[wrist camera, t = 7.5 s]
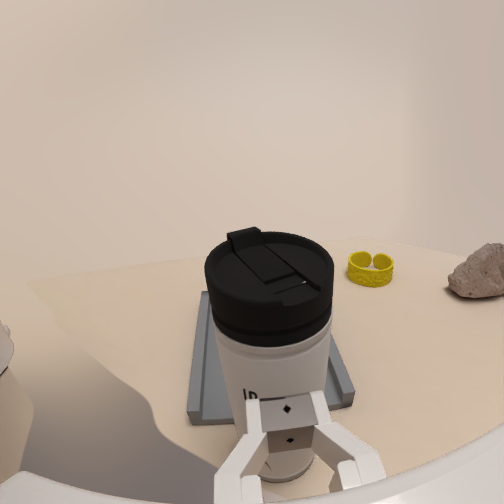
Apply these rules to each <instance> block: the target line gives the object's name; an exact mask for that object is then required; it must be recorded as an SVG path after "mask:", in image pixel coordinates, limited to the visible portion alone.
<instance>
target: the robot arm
mask: <svg viewBox="0 0 504 504" xmlns="http://www.w3.org/2000/svg"><path fill="white" fill-rule="evenodd" d="M13 351H14V345H13V342H12V340H11V339H10V329H9V328H8V326H5V325H4V326H3V325H2V323H1V321H0V374H1V373H2V372H3V371H4V369H5V368H6V367H7V365H8V364H9V362H10V360H11V358H12V355H13ZM259 403H260V405H259ZM260 412H261V413H260ZM246 418H247V432H248V434H244V435H243V436H242V438H241V439H240V441H239V442H238V444H237V445H236V446H235V448H234V449H233V451H232V452H231V454H230V455H229V456H228V458H227V459H226V461H225V462H224V463H223V465H222V466H221V467H220V469H219V470H218V471H217V473H216V474H215V476H214V504H504V422H503V423H502V424H500V425H499V426H497V427H495V428H494V429H492V430H491V431H489V432H487V433H485V434H484V435H482V436H480V437H478V438H477V439H475V440H473V441H471V442H469V443H467V444H466V445H464V446H462V447H460V448H458V449H456V450H454V451H452V452H450V453H447V454H445V455H443V456H441V457H439V458H437V459H434V460H432V461H430V462H427V463H425V464H423V465H420V466H418V467H415V468H413V469H410V470H407V471H405V472H402V473H399V474H396V475H393V476H390V477H387V476H386V473H385V471H384V468H383V465H382V462H381V459H380V457H379V454H378V451H376V450H375V449H373V448H372V447H370V446H369V445H368V444H366V443H365V442H363V441H362V440H361V439H359V438H358V437H356V436H355V435H354V434H352V433H351V432H350V431H348V430H347V429H346V428H344V427H343V426H341V425H340V424H339V423H337V422H332V419H331V415H330V412H329V409H328V406H327V402H326V399H325V396H324V393H323V391H322V390H319V391H313V392H305V393H299V394H293V395H286V396H282V397H272V398H261V399H249V400H246ZM305 448H311V449H312V450H313V451H314V452H315V453H316V454H317V455H318V456H319V457H320V458H321V459H322V460H323V461H324V462H325V463H326V464H327V465H328V466H330V467H331V468H332V469H333V470H334V471H335V473H334V475H333V478H332V480H331V482H330V485H329V490H330V493H328V494H323V495H318V496H313V497H307V498H301V499H295V500H287V501H279V502H270V503H264V497H263V491H262V485H261V479H260V477H259V476H257V475H258V473H259V472H260V470H261V468H262V466H263V465H264V463H265V461H266V459H267V457H268V455H269V453H277V452H283V451H290V450H298V449H305ZM0 504H169V503H158V502H149V501H141V500H134V499H128V498H122V497H117V496H111V495H106V494H101V493H97V492H93V491H88V490H85V489H81V488H76V487H73V486H70V485H66V484H63V483H59V482H56V481H53V480H50V479H47V478H44V477H41V476H39V475H36V474H33V473H31V472H27V471H21V472H19V473H17V474H15V475H13V476H12V477H10V478H9V479H7V480H6V481H4V482H3V483H1V484H0Z"/></svg>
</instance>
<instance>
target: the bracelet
mask: <svg viewBox="0 0 504 504" xmlns="http://www.w3.org/2000/svg"><path fill="white" fill-rule="evenodd" d="M348 260H349V262H348V278H349V279H350V280H351V281H353V282H354V283H356V284H359V285H362V286H367V287H373V288H375V287H381V286H384V285H386V284H388V283H389V282H390V280H391V279H392V273H393V264H394V262H393V260H392V258H391V257H389V256H388V255H386V254H383V253H379V254H376V255H375V256H374V258H373V264H374V266H375V267H376V268H378V269H381V270H369V269H364V268H361V267H367V266H369V265H370V264H371V261H372V257H371V255H370V254H369V253H368V252H365V251H360V252H355V253H353V254H351V255H350V256H349V258H348Z"/></svg>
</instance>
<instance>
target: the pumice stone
mask: <svg viewBox="0 0 504 504" xmlns="http://www.w3.org/2000/svg"><path fill="white" fill-rule="evenodd" d="M448 282H449V287H450V288H451V290H452V291H454V292H456V293H457V294H458V295H460V296H463V297H471V298H478V297H486V296H487V297H489V296H497V295H499V296H500V295H503V294H504V245H503V244H501V243H492V244H489V243H487V244H486V245H484V246H482V247H481V248H480V249H478V250H477V251H475V252H474V253H473V254H471V255H470V256H469V257H468V258H467V260H466V262H463V263H461V264H460V265H458V266H457V267H456V268H455V269H454V273H452V274H450V275H448Z"/></svg>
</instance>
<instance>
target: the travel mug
mask: <svg viewBox="0 0 504 504" xmlns="http://www.w3.org/2000/svg"><path fill="white" fill-rule="evenodd" d="M204 268H205V277H206V283H207V289H208V294H209V300H210V303H211V309H212V322H213V326H214V329H215V337H216V341H217V346H218V351H219V356H220V361H221V365H222V370H223V374H224V379H225V383H226V388H227V392H228V397H229V401H230V405H231V409H232V414H233V418H234V422H235V426H236V430H237V434H238V438H239V441H240V439H241V438H242V436H243V435H244V434H248V432H247V418H246V400H249V399H261V398H272V397H282V396H286V395H293V394H299V393H305V392H313V391H319V390H322V391H323V393H324V390H325V382H326V374H327V366H328V357H329V348H330V337H331V326H332V314H333V307H332V297H333V281H334V263H333V260H332V258H331V256H330V255H329V253H328V252H327V251H326V250H325V249H324V248H323V247H322V246H320V245H319V244H317V243H316V242H314V241H312V240H310V239H307V238H305V237H302V236H299V235H295V234H290V233H284V232H261V230H259V229H258V228H257V227H251V228H247V229H243V230H238V231H234V232H230V233H227V241H225V242H223V243H221V244H220V245H218V246H217V247H216V248H214V249H213V250H212V251H211V252H210V254H209V256H208V257H207V259H206V262H205V265H204ZM259 405H260V403H259ZM260 413H261V412H260ZM314 453H315V452H314V451H313V450H312V449H311V448H305V449H298V450H290V451H283V452H277V453H269V455H268V457H267V459H266V461H265V463H264V465H263V466H262V468H261V470H260V472H259V473H258V475H257V476H259V477H260V479H262V480H265V481H269V482H286V481H290V480H293V479H295V478H297V477H299V476H301V475H302V474H303V473H305V472H306V471H307V470H308V468H309V467H310V466H311V464H312V461H313V458H314Z"/></svg>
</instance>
